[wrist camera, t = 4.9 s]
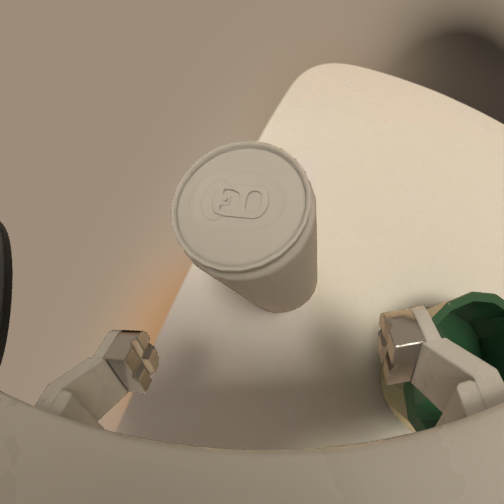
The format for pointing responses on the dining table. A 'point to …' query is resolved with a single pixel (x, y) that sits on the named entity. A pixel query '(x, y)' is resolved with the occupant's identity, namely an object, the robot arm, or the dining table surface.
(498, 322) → the green round pot
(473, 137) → the dining table surface
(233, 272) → the beverage can
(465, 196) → the dining table surface
